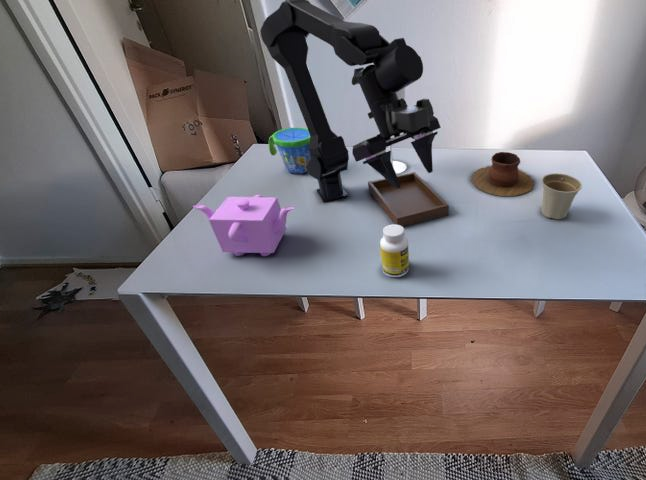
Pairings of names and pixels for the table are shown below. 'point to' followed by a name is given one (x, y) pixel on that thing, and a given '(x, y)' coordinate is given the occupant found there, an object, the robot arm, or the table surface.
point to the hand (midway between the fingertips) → (415, 180)
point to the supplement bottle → (394, 251)
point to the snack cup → (292, 148)
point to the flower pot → (558, 194)
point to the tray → (408, 199)
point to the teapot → (248, 224)
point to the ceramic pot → (503, 176)
